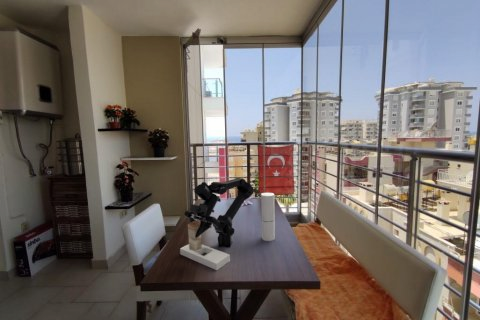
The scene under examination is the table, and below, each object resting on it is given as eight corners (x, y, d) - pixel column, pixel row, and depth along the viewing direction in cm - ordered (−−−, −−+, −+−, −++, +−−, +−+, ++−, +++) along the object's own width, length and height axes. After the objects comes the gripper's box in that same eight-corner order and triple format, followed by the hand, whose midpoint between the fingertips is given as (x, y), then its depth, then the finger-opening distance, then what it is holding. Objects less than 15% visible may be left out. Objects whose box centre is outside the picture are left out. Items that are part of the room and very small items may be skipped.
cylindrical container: (273, 235, 132) (273, 192, 130) (275, 240, 125) (275, 195, 122) (261, 235, 132) (260, 192, 129) (262, 241, 125) (262, 196, 122)
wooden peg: (195, 245, 108) (194, 221, 107) (202, 247, 106) (200, 222, 104) (189, 249, 105) (187, 224, 103) (195, 251, 103) (193, 226, 101)
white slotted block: (194, 246, 121) (194, 241, 121) (230, 260, 107) (229, 254, 106) (180, 254, 114) (180, 248, 113) (216, 270, 100) (216, 263, 99)
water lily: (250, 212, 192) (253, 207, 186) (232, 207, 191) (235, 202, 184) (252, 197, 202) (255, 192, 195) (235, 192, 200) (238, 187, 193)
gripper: (185, 193, 111) (167, 223, 104) (214, 199, 100) (196, 233, 93) (198, 205, 118) (183, 233, 111) (226, 211, 107) (211, 244, 100)
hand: (192, 236), depth 104 cm, fingers closed on wooden peg, 4 cm apart
